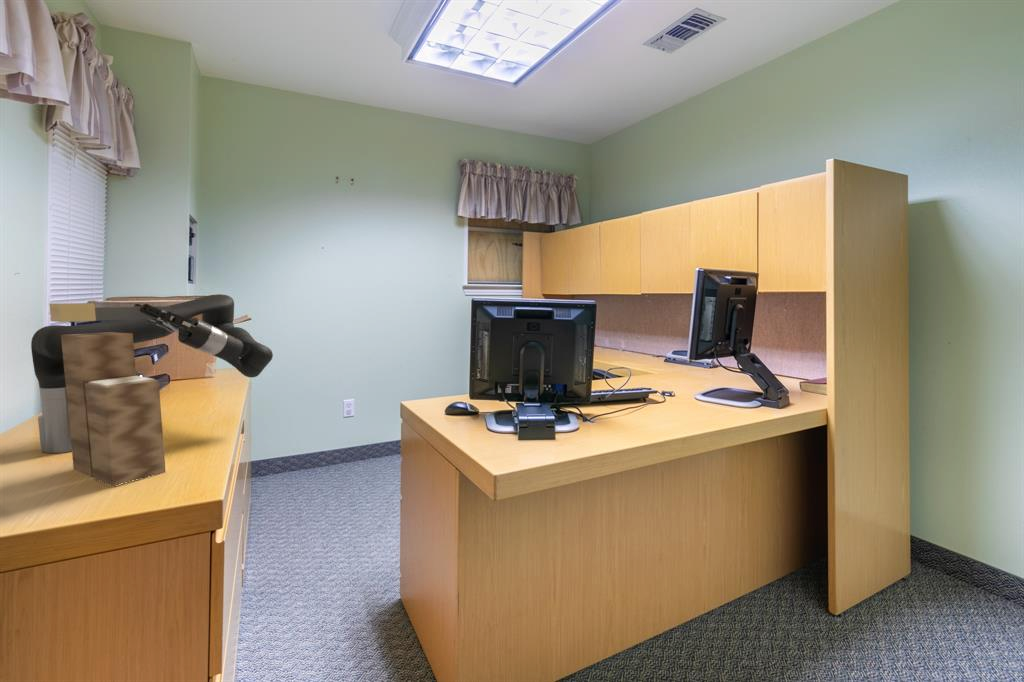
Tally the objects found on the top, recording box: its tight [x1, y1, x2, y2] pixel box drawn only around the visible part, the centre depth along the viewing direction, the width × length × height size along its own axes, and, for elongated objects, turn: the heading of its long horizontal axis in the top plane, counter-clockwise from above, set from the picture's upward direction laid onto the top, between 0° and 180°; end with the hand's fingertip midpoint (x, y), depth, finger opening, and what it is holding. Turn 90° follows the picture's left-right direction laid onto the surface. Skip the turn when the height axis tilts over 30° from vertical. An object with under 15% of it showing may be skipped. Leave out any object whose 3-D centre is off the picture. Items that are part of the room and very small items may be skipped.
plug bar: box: [48, 302, 172, 323], centre depth 115 cm, size 22×6×4 cm, turn 150°
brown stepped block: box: [61, 332, 166, 487], centre depth 111 cm, size 10×21×32 cm, turn 60°
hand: (138, 307), depth 119 cm, fingers closed on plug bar, 4 cm apart
